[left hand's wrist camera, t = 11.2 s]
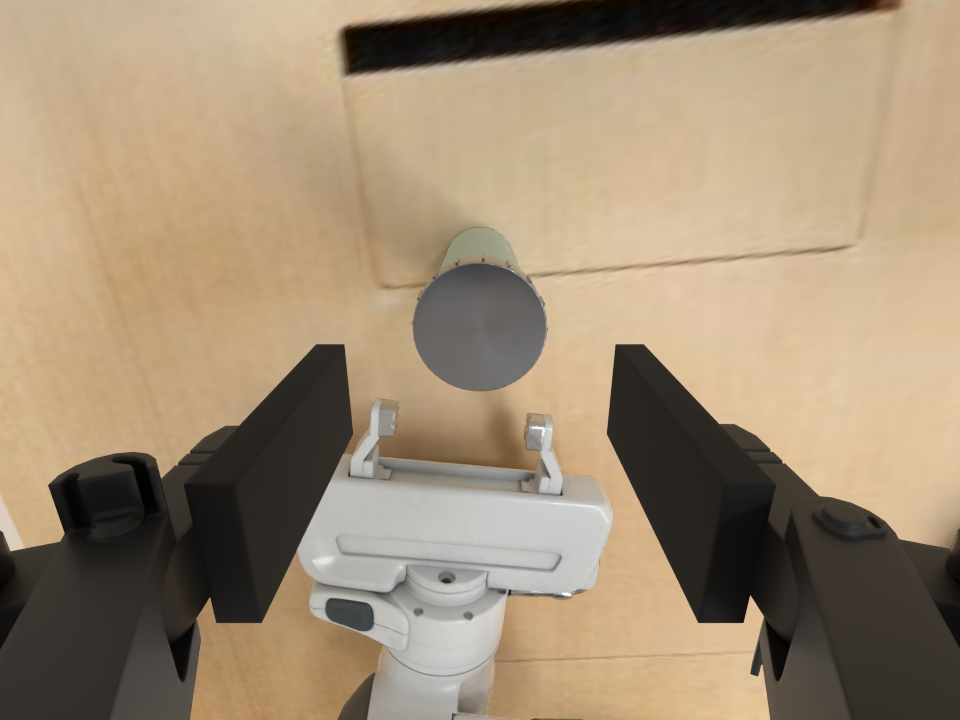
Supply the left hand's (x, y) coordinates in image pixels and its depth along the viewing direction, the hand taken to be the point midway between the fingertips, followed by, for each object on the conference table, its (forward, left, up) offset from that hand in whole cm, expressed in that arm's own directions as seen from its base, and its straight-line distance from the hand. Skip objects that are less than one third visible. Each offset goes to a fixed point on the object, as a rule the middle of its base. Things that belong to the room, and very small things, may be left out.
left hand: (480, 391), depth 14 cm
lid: (0, 0, -6) cm, 6 cm away
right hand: (+7, +3, -15) cm, 17 cm away
